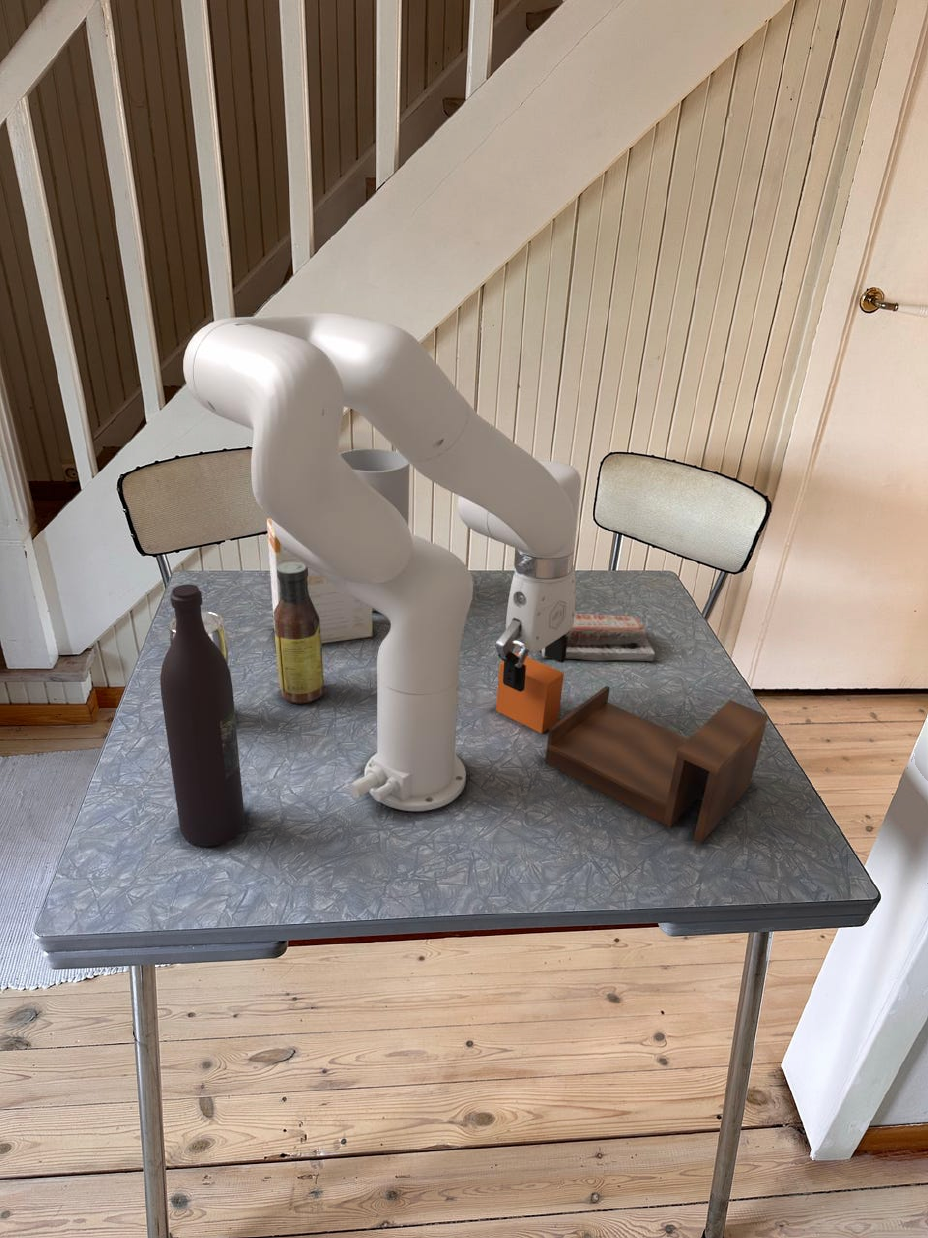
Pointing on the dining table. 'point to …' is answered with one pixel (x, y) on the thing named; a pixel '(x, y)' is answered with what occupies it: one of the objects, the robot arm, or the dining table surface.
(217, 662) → the wine bottle
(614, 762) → the shelf
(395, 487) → the cylinder vase
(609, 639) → the packaged product
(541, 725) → the block
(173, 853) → the dining table surface
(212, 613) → the beer glass
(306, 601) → the sauce bottle
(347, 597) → the coffeecake box
